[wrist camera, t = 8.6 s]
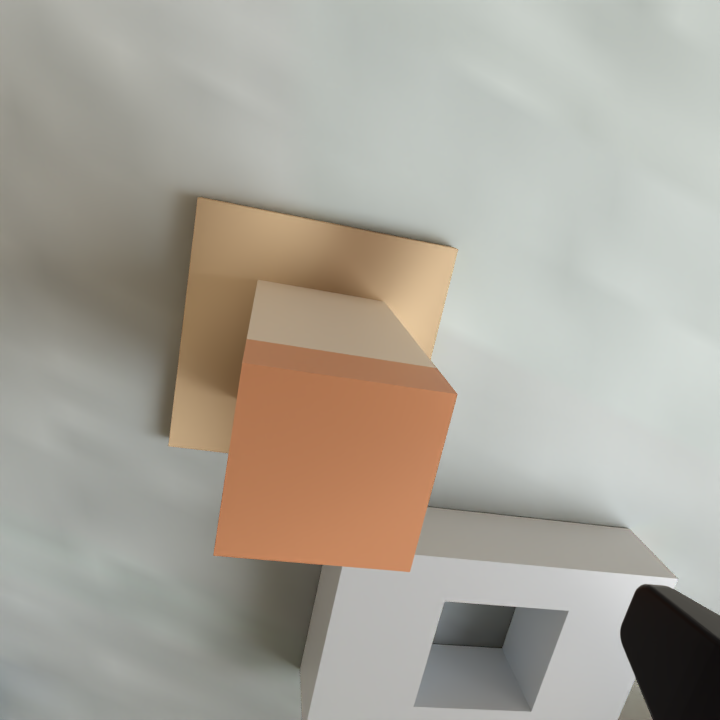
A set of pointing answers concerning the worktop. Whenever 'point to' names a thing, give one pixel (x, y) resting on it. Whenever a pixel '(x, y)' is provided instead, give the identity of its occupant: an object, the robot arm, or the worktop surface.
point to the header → (491, 587)
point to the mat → (291, 267)
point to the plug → (331, 434)
